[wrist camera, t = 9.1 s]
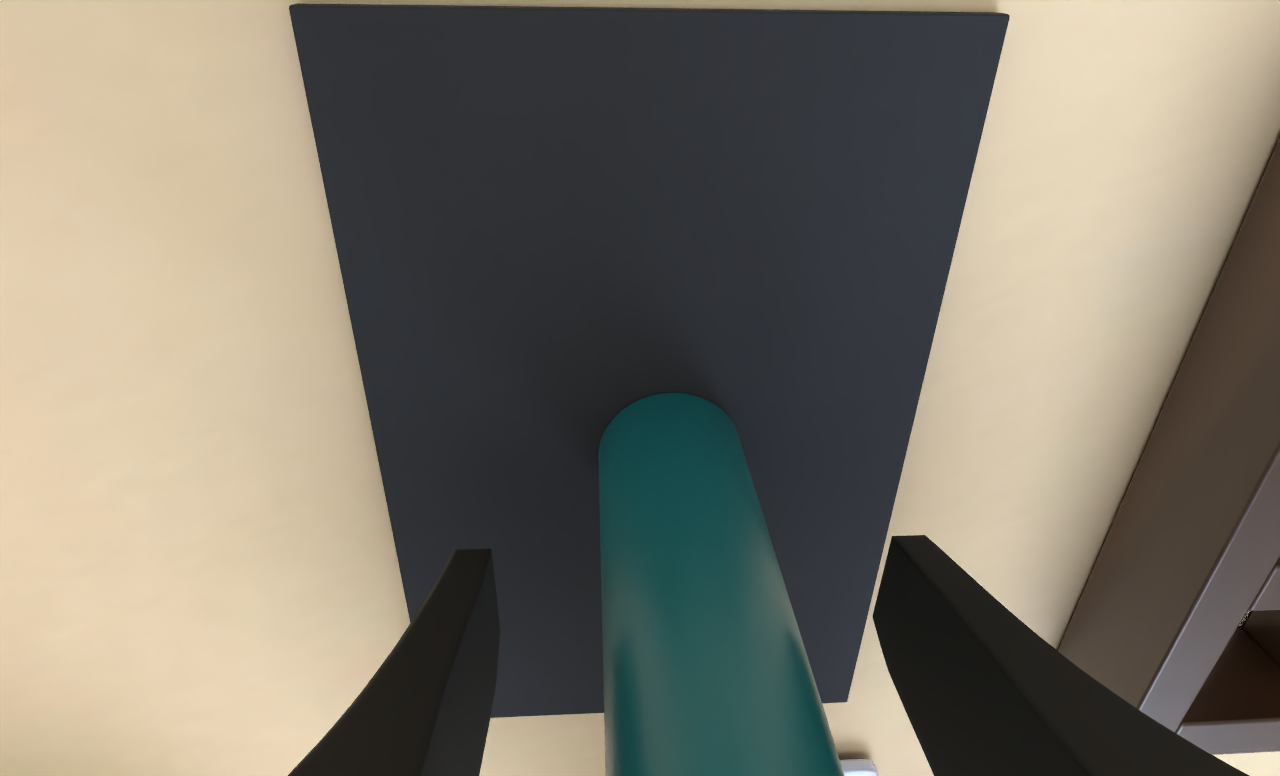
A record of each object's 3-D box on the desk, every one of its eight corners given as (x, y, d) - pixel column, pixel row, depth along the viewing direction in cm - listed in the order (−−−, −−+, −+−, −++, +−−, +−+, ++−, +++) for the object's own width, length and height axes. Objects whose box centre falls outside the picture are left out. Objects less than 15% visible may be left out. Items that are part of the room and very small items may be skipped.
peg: (733, 505, 18) (847, 933, 10) (599, 509, 18) (608, 948, 10) (745, 389, 16) (890, 793, 8) (597, 392, 16) (607, 808, 8)
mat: (843, 691, 22) (847, 702, 22) (431, 708, 21) (429, 721, 21) (999, 12, 13) (1011, 14, 13) (295, 3, 12) (287, 5, 12)
